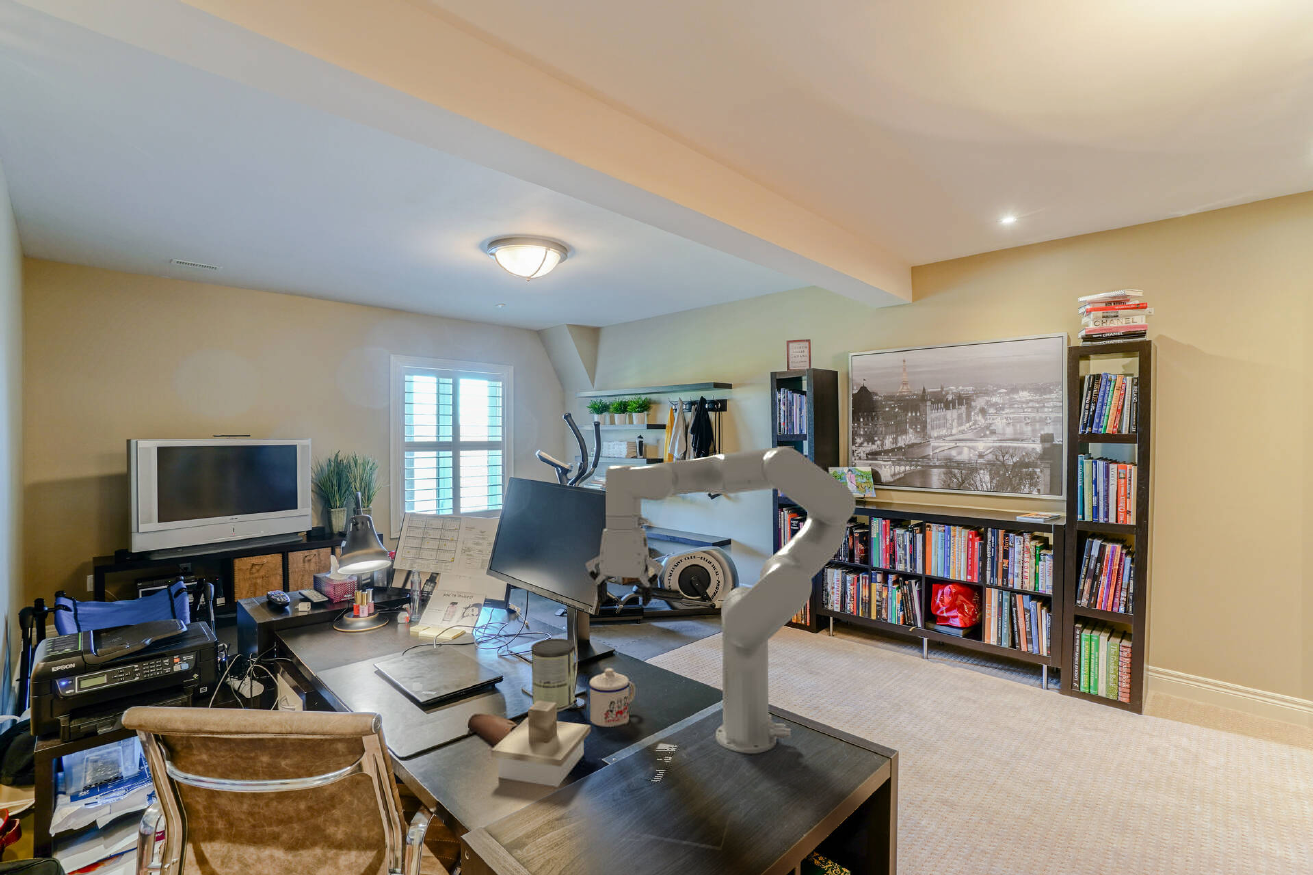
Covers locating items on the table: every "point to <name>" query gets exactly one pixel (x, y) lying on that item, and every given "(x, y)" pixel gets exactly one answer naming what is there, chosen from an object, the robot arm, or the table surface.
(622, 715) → the teacup with lid
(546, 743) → the lid
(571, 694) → the coffee can
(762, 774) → the table surface
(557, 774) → the dish
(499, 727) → the sunglasses case
